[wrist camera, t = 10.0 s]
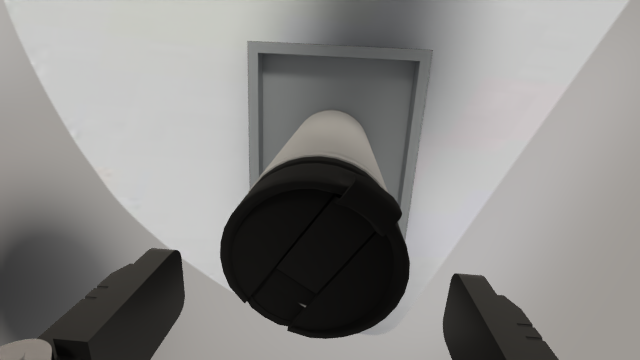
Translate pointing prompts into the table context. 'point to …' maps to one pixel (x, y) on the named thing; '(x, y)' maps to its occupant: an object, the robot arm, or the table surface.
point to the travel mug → (319, 234)
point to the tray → (340, 102)
